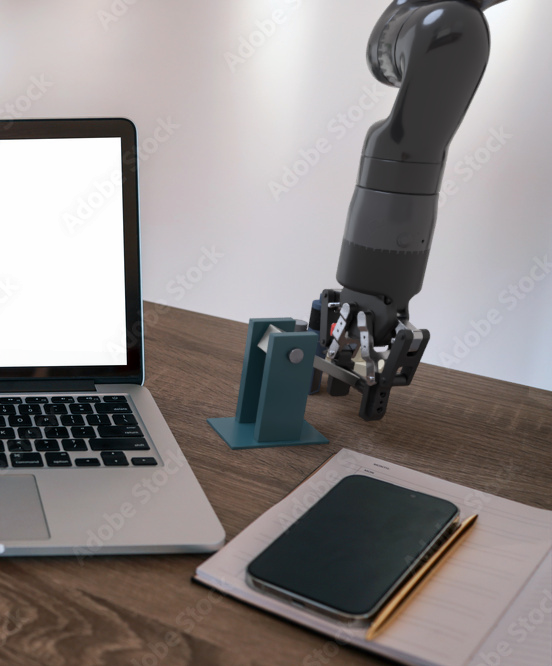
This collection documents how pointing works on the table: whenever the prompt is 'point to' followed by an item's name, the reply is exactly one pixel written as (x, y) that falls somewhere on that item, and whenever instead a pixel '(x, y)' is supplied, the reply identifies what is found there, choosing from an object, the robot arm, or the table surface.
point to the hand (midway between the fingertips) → (353, 405)
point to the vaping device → (320, 351)
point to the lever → (324, 365)
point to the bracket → (272, 390)
